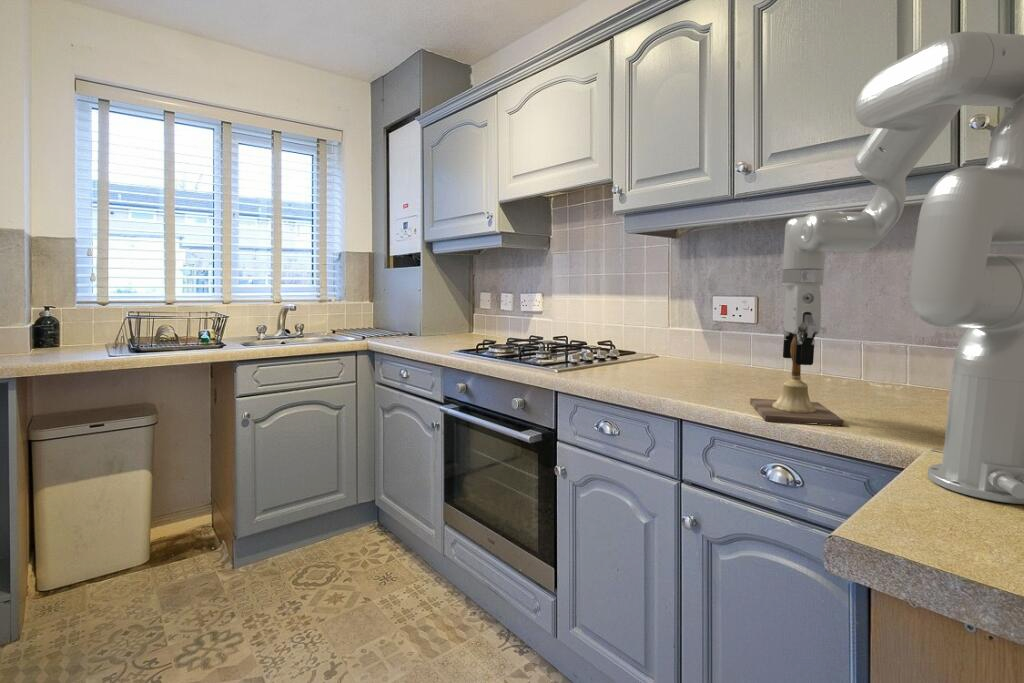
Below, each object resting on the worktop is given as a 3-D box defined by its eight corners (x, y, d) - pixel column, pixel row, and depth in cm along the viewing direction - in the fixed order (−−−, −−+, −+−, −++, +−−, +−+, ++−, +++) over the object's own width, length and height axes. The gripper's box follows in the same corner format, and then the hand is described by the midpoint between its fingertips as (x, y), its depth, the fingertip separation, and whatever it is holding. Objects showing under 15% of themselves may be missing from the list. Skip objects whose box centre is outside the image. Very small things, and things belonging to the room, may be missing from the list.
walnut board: (842, 426, 106) (843, 420, 106) (765, 421, 110) (765, 415, 109) (817, 407, 122) (817, 402, 122) (750, 403, 125) (750, 398, 125)
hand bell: (806, 415, 110) (811, 336, 108) (764, 407, 116) (769, 332, 114) (823, 409, 115) (828, 333, 113) (782, 402, 121) (787, 330, 119)
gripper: (837, 278, 103) (830, 368, 105) (810, 279, 120) (804, 356, 122) (793, 278, 105) (788, 366, 107) (772, 278, 122) (768, 355, 123)
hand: (797, 361), depth 114 cm, fingers open, 9 cm apart
